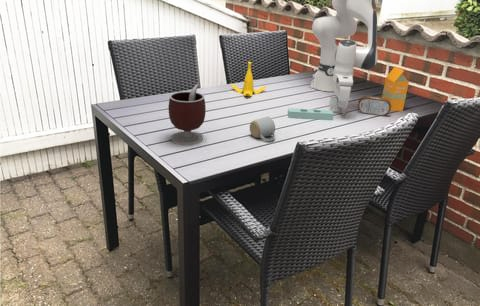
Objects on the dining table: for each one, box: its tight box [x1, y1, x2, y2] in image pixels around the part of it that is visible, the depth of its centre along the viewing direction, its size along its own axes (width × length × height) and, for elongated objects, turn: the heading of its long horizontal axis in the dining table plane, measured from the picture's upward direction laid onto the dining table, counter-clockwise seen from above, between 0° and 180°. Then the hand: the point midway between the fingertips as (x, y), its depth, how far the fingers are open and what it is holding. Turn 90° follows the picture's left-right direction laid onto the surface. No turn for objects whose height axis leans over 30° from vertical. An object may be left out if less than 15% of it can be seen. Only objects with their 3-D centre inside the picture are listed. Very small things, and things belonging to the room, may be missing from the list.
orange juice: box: [381, 66, 410, 112], centre depth 206 cm, size 8×9×20 cm
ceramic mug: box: [249, 116, 276, 143], centre depth 166 cm, size 11×8×8 cm
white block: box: [329, 96, 349, 115], centre depth 198 cm, size 8×2×8 cm, turn 88°
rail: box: [287, 107, 334, 121], centre depth 192 cm, size 5×20×3 cm, turn 88°
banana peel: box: [230, 61, 267, 97], centre depth 220 cm, size 17×19×17 cm
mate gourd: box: [168, 83, 207, 146], centre depth 160 cm, size 16×14×20 cm
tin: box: [357, 95, 391, 117], centre depth 198 cm, size 15×3×8 cm, turn 71°
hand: (338, 105), depth 198 cm, fingers closed on white block, 2 cm apart
